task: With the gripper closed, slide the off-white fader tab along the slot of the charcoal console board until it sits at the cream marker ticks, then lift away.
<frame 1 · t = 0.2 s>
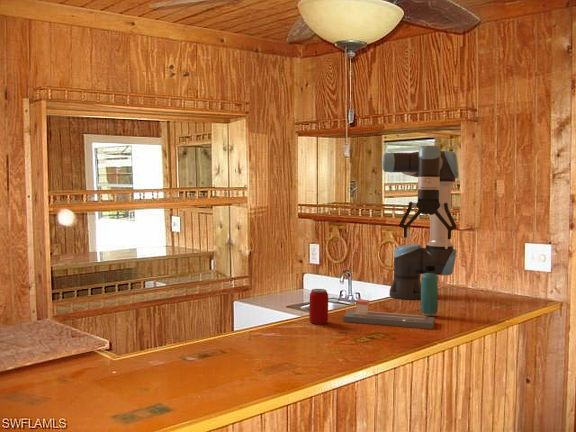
hand: (427, 247, 221), 28 cm above the worktop, fingers open, 13 cm apart
beverage can: (318, 323, 222), on the worktop
fader tab: (362, 307, 227), point 5 cm above the worktop, slide at 0.0 cm
beverage bottle: (428, 316, 235), on the worktop
console board: (388, 322, 224), on the worktop
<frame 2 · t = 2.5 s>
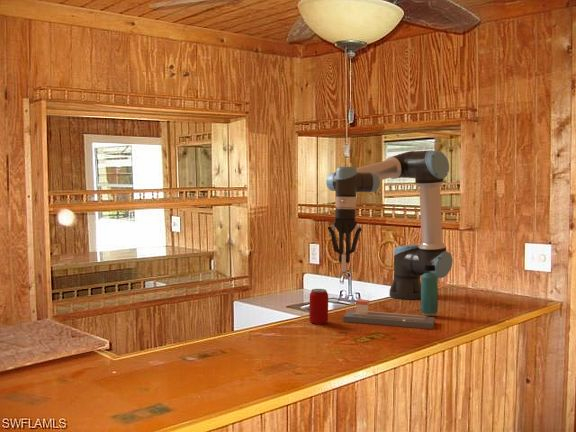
hand: (344, 271, 228), 18 cm above the worktop, fingers closed
nothing on the worktop moved.
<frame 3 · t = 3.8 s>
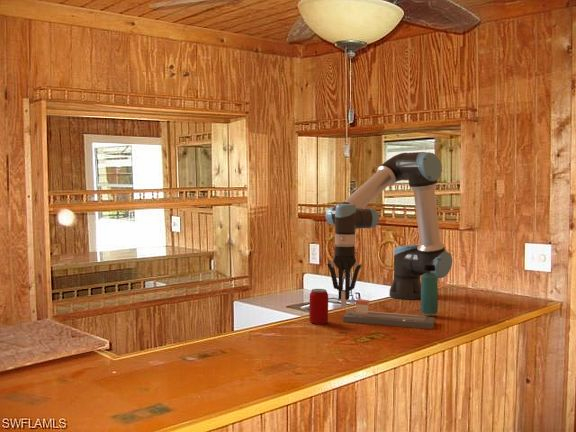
hand: (343, 307, 229), 4 cm above the worktop, fingers closed
nothing on the worktop moved.
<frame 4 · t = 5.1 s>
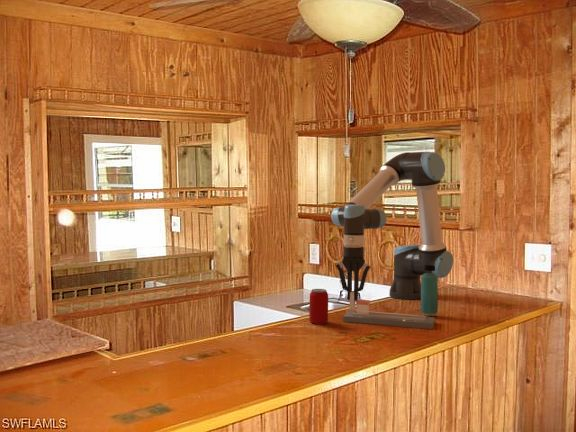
hand: (352, 308, 228), 4 cm above the worktop, fingers closed
fader tab: (362, 307, 227), point 5 cm above the worktop, slide at 0.3 cm, touching gripper
everything else where it was.
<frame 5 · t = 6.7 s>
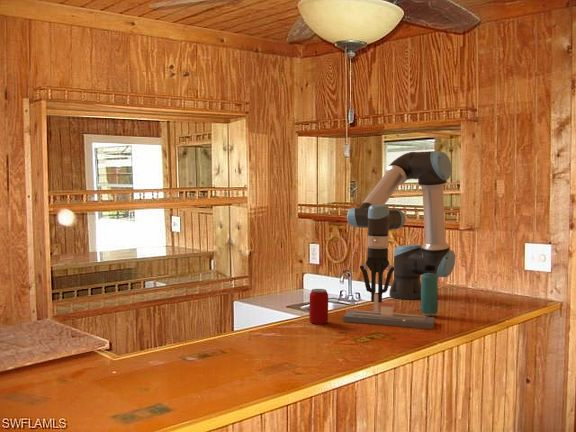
hand: (376, 310, 226), 4 cm above the worktop, fingers closed
fader tab: (387, 309, 224), point 5 cm above the worktop, slide at 9.2 cm, touching gripper
everything else where it was.
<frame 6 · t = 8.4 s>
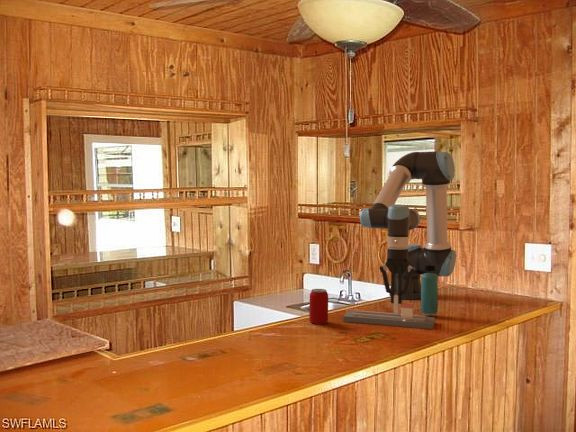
hand: (396, 312, 223), 4 cm above the worktop, fingers closed
fader tab: (407, 310, 222), point 5 cm above the worktop, slide at 16.5 cm, touching gripper
everything else where it was.
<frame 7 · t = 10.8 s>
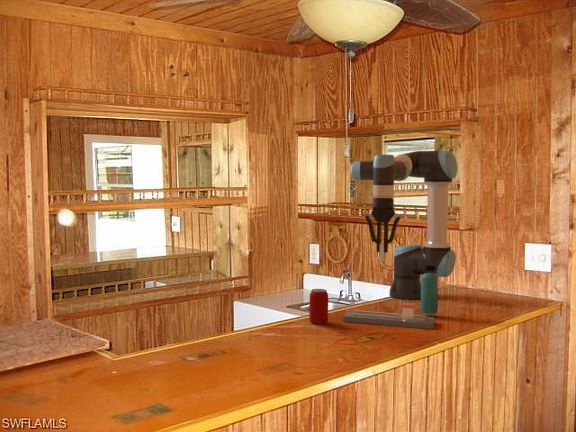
hand: (382, 261, 224), 22 cm above the worktop, fingers closed
fader tab: (408, 311, 222), point 5 cm above the worktop, slide at 16.9 cm
everything else where it was.
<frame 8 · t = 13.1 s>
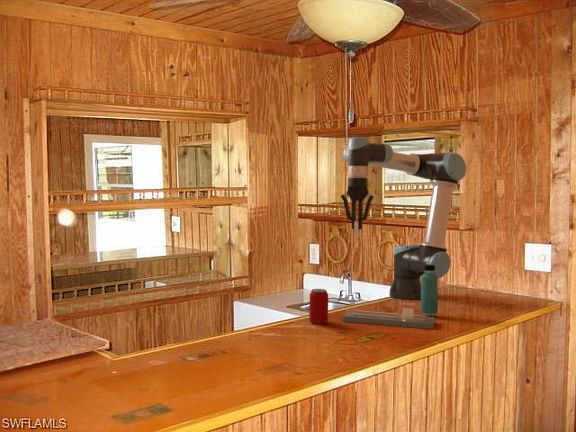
hand: (356, 237, 239), 29 cm above the worktop, fingers closed
nothing on the worktop moved.
at the end: fader tab slide at 16.9 cm; the gripper is holding nothing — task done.
